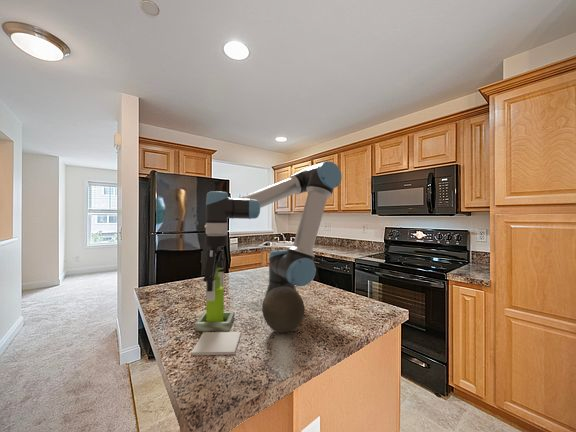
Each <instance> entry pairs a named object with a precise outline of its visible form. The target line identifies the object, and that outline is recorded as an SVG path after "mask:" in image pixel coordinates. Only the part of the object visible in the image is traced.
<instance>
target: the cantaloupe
mask: <svg viewBox="0 0 576 432" xmlns="http://www.w3.org/2000/svg"><path fill="white" fill-rule="evenodd" d="M261 304H262V305H261V306H262V307H261V308H262V309H261V310H262V315H263V319H264V320H265V324H266V325H268V327H270V329H272V330H273V331H274V332H278V333H280V334H283V333H288V332H292V331H294V330H295V329H297V328H298V327H299V326H300V325H301V323H302V322H303V319H304V316H305V308H306V307H305V304H304V300H303V298H302V297H301V294H300V293H299V291H298V290H297V289H296V290H294V289H292V288H290V287H286V286H282V287H277V288H274V289H272V290H271V291H270V292H268V294H267V295H266V296H265V295H264V298H263V301H262V303H261Z"/></svg>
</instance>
